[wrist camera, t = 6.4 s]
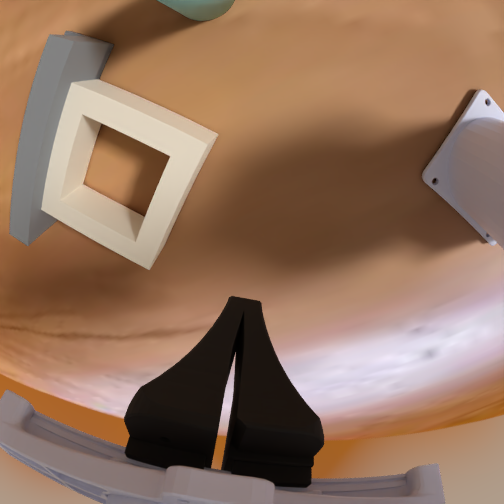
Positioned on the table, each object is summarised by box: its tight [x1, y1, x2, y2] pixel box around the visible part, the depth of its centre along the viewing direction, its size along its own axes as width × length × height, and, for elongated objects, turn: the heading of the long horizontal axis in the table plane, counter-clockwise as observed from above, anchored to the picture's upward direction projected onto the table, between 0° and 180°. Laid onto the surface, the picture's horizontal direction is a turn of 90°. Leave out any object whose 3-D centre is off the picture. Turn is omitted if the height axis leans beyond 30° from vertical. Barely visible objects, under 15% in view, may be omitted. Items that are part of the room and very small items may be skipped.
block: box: [41, 79, 219, 270], centre depth 18 cm, size 9×9×3 cm
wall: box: [9, 31, 114, 246], centre depth 16 cm, size 4×14×4 cm, turn 151°
